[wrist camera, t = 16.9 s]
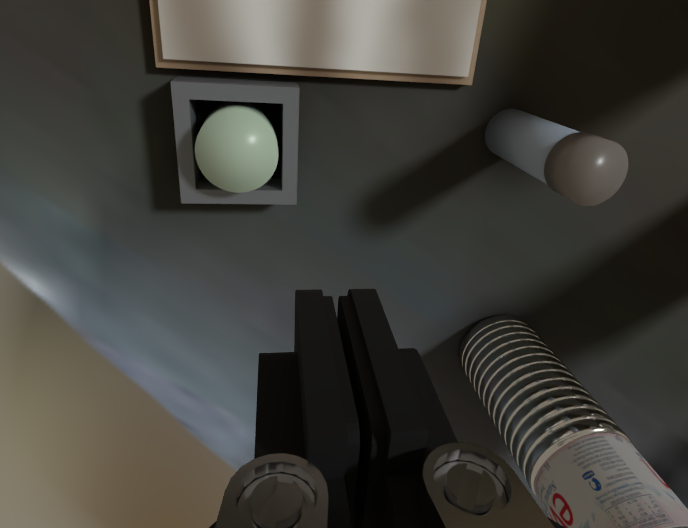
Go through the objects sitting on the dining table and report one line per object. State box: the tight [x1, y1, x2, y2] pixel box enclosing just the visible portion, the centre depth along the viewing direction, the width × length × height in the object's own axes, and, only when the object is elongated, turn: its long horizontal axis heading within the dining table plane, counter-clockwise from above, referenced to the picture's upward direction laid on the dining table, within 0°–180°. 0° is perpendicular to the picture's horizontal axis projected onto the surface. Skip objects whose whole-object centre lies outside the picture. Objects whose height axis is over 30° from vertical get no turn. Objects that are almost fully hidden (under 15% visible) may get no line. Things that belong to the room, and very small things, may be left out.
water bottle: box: [459, 315, 688, 528], centre depth 31 cm, size 7×7×25 cm
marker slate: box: [485, 108, 628, 206], centre depth 29 cm, size 3×3×10 cm
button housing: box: [170, 76, 299, 205], centre depth 29 cm, size 7×7×2 cm
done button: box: [195, 101, 279, 193], centre depth 29 cm, size 5×5×4 cm
